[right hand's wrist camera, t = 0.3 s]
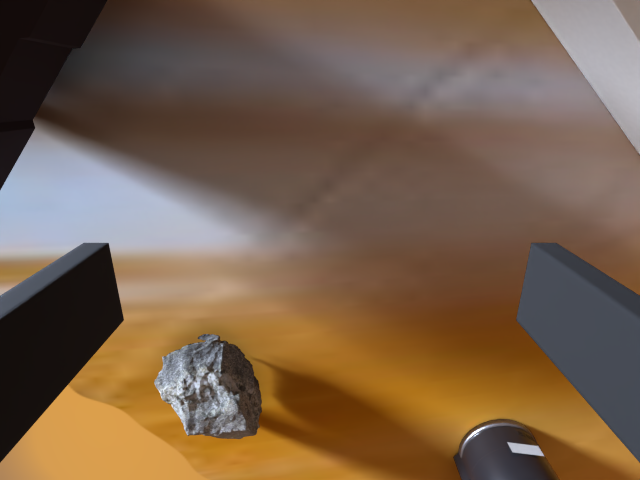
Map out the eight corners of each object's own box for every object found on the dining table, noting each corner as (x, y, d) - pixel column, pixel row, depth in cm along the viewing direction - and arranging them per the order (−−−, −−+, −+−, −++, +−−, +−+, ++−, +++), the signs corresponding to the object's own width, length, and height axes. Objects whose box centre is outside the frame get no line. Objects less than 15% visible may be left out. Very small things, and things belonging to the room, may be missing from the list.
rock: (154, 357, 45) (129, 399, 39) (206, 312, 43) (188, 348, 37) (239, 425, 48) (228, 473, 42) (290, 386, 47) (287, 430, 40)
